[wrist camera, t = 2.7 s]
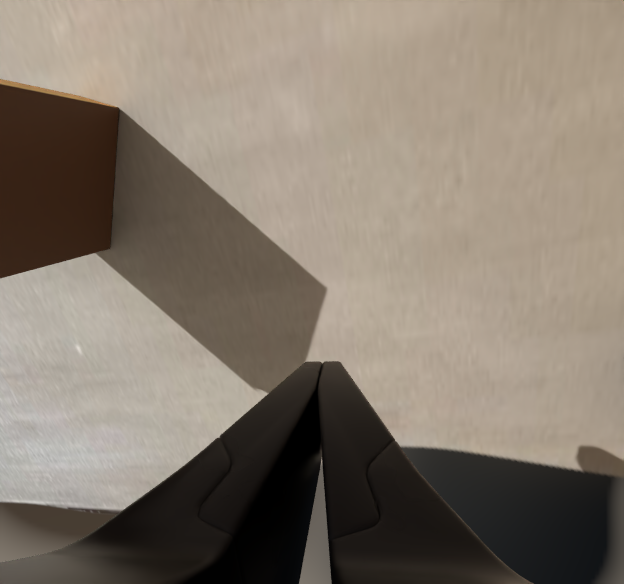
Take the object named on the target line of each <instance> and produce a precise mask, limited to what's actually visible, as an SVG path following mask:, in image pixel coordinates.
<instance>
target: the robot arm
mask: <svg viewBox="0 0 624 584" xmlns="http://www.w3.org/2000/svg"><path fill="white" fill-rule="evenodd" d="M321 458H322V463H323V475H324V489H325V501H326V514H327V528H328V539H329V540H328V541H329V554H330V567H331V580H332V584H533V583H531V582H529V581H527V580H526V579H524V578H523V577H521V576H519V575H518V574H517V573H516V572H514V571H513V570H511V569H510V568H509V567H508V566H507V565H506V564H504V563H503V562H502V561H501V560H500V559H499V558H498V557H497V556H496V555H495V554H494V553H493V552H492V551H491V550H490V549H489V548H488V547H487V546H486V545H485V544H484V543H483V542H482V541H481V540H480V538H479V537H478V536H477V535H476V534H475V533H474V532H473V531H472V530H471V529H470V528H469V527H468V526H467V524H466V523H465V522H463V520H462V519H461V518H460V517H459V516H458V515H457V514H456V513H455V512H454V510H453V509H452V508H451V507H450V506H449V505H448V504H447V503H446V502H445V501H444V500H443V499H442V498H441V497H440V495H439V494H438V493H437V492H436V491H435V490H434V489H433V487H431V485H430V484H429V483H428V482H427V481H426V480H425V479H424V477H423V476H422V475H421V474H420V473H419V472H418V470H417V469H416V468H415V466H414V465H413V464H412V462H411V461H410V460H409V459H408V457H407V456H406V454H405V453H404V452H403V450H402V449H401V447H400V446H399V444H398V443H397V442H396V441H395V439H394V438H393V436H392V435H391V433H390V432H389V431H388V429H387V428H386V426H385V425H384V423H383V422H382V421H381V419H380V418H379V416H378V415H377V413H376V412H375V411H374V409H373V408H372V406H371V405H370V404H369V402H368V401H367V399H366V398H365V396H364V395H363V394H362V392H361V391H360V389H359V388H358V386H357V385H356V384H355V382H354V381H353V379H352V378H351V377H350V375H349V374H348V372H347V371H346V369H345V368H344V367H343V365H342V364H341V363H340V362H338V361H332V362H324V363H323V364H322V363H321V362H305V363H304V364H302V365H301V366H300V367H299V368H298V369H297V370H295V371H294V372H293V373H292V374H291V375H290V376H288V377H287V378H286V379H285V380H284V381H283V382H282V383H280V384H279V385H278V386H277V387H276V388H275V389H273V390H272V391H271V392H270V393H269V394H268V395H267V396H265V397H264V398H263V399H262V400H261V401H260V402H258V403H257V404H256V405H255V406H254V407H253V408H251V409H250V410H249V411H248V412H247V413H246V414H245V415H243V416H242V417H241V418H240V419H239V420H238V421H236V422H235V423H234V424H233V425H232V426H231V427H230V428H228V429H227V430H226V431H225V432H224V433H223V434H221V435H220V438H217V439H215V440H214V441H213V442H212V443H211V444H210V445H209V446H207V447H206V448H205V449H204V450H203V451H201V452H200V453H199V454H198V455H196V456H195V457H194V458H193V459H192V460H190V461H189V462H188V463H187V464H186V465H184V466H183V467H182V468H180V469H179V470H178V471H176V472H175V473H174V474H172V475H171V476H170V477H168V478H167V479H166V480H164V481H163V482H162V483H160V484H159V485H157V486H156V487H155V488H153V489H152V490H150V491H149V492H148V493H146V494H145V495H143V496H142V497H141V498H139V499H138V500H137V501H135V502H134V503H132V504H131V505H130V506H128V507H127V508H125V509H124V510H123V511H121V512H120V513H118V514H117V515H116V516H114V517H113V518H112V519H110V520H109V521H107V522H106V523H105V524H103V525H102V526H100V527H99V528H98V529H96V530H95V531H93V532H92V533H90V534H89V535H87V536H85V537H84V538H82V539H80V540H78V541H76V542H75V543H72V544H70V545H68V546H66V547H63V548H61V549H58V550H55V551H52V552H49V553H46V554H42V555H37V556H32V557H27V558H22V559H17V560H12V561H7V562H2V563H0V584H299V579H300V574H301V569H302V563H303V557H304V552H305V547H306V541H307V536H308V530H309V525H310V519H311V514H312V508H313V503H314V498H315V492H316V487H317V482H318V476H319V471H320V465H321Z"/></svg>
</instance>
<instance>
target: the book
mask: <svg viewBox="0 0 624 584" xmlns="http://www.w3.org/2000/svg"><path fill="white" fill-rule="evenodd" d="M118 116H119V108H117V107H114V106H111V105H107V104H104V103H101V102H97V101H94V100H91V99H87V98H84V97H81V96H77V95H73V94H68V93H63V92H59V91H54V90H49V89H45V88H40V87H35V86H31V85H26V84H21V83H17V82H12V81H7V80H3V79H0V278H4V277H7V276H11V275H15V274H18V273H22V272H26V271H29V270H33V269H37V268H41V267H44V266H48V265H52V264H55V263H59V262H63V261H66V260H70V259H74V258H78V257H81V256H85V255H89V254H92V253H96V252H100V251H103V250H107V249H110V242H111V226H112V210H113V195H114V179H115V163H116V148H117V132H118Z"/></svg>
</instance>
